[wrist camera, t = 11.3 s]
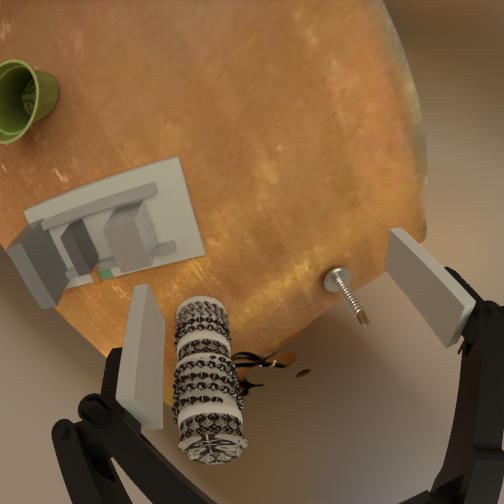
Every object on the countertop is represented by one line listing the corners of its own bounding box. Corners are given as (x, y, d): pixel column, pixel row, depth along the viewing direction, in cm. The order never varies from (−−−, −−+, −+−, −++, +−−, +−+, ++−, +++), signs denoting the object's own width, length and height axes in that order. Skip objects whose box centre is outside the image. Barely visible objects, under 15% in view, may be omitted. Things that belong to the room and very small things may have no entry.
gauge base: (28, 207, 33) (-1, 235, 26) (178, 154, 35) (173, 172, 27) (65, 284, 41) (49, 319, 34) (205, 249, 42) (208, 285, 35)
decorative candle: (164, 322, 48) (161, 463, 27) (190, 285, 45) (196, 439, 24) (210, 340, 52) (226, 471, 31) (238, 306, 49) (270, 448, 28)
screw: (314, 277, 48) (333, 255, 47) (333, 288, 50) (351, 268, 49) (345, 333, 37) (370, 308, 36) (364, 342, 39) (388, 319, 38)
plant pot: (40, 144, 30) (6, 161, 22) (4, 102, 25) (-33, 111, 18) (84, 90, 28) (54, 93, 20) (45, 48, 23) (10, 43, 16)
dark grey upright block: (70, 223, 34) (59, 237, 31) (82, 219, 34) (72, 233, 31) (96, 277, 39) (89, 294, 36) (107, 274, 39) (101, 291, 36)
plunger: (114, 208, 35) (102, 229, 30) (143, 200, 35) (134, 220, 30) (130, 247, 38) (122, 273, 33) (157, 240, 38) (152, 265, 33)
